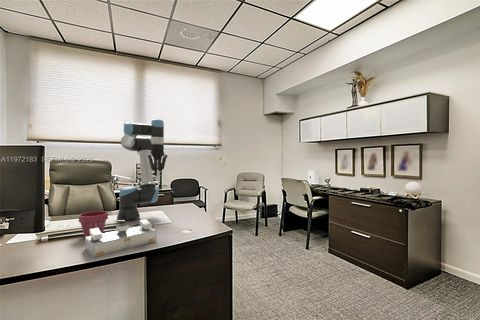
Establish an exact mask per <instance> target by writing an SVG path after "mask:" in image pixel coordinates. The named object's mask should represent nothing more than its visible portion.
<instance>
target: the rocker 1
mask: <svg viewBox="0 0 480 320" xmlns="http://www.w3.org/2000/svg"><path fill="white" fill-rule="evenodd" d="M89 233H90V235H91V237H92V239H93V240H98V239H102V233H101V232H100V230H99V228H94V229H90V232H89Z"/></svg>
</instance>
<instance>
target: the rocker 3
mask: <svg viewBox="0 0 480 320" xmlns="http://www.w3.org/2000/svg"><path fill="white" fill-rule="evenodd" d="M138 223H139V224H140V225H141V226H142V227H143V228H144V229H149V228H152V224H151V223H152V222H150V221H148V219H147V218H145V219H139V222H138Z"/></svg>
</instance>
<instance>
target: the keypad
mask: <svg viewBox="0 0 480 320" xmlns="http://www.w3.org/2000/svg"><path fill="white" fill-rule="evenodd" d="M150 223H151V224H152V228H153V229H154V227H155V224H154V223H153V222H150ZM128 226H129V228H132V227H137V226H141V225H140V224H139V222H137V223H134V224H132V225H128Z"/></svg>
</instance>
